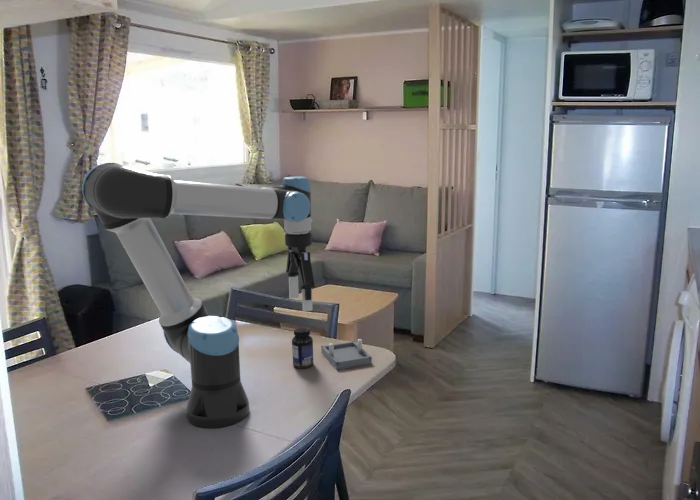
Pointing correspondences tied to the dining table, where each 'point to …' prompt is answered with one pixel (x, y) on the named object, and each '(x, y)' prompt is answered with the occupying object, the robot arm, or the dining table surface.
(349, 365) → the tray
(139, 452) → the dining table surface
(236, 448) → the dining table surface
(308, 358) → the pill bottle
